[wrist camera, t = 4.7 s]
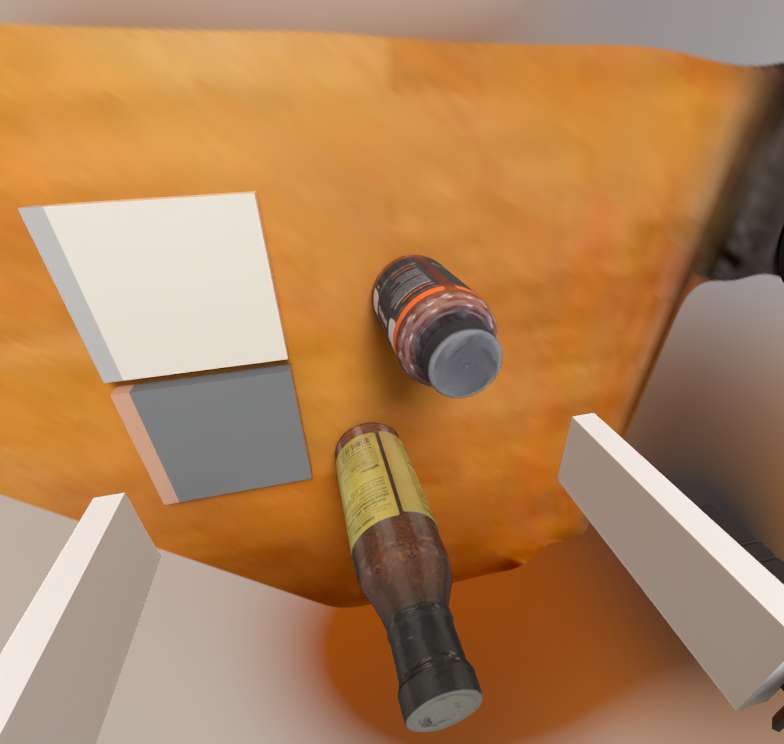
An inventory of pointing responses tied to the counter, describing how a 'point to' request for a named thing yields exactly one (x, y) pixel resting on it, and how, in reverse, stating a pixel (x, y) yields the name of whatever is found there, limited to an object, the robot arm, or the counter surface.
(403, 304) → the supplement bottle
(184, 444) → the grey square coaster
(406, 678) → the sauce bottle
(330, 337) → the counter surface
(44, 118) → the counter surface
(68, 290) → the cream square tile
